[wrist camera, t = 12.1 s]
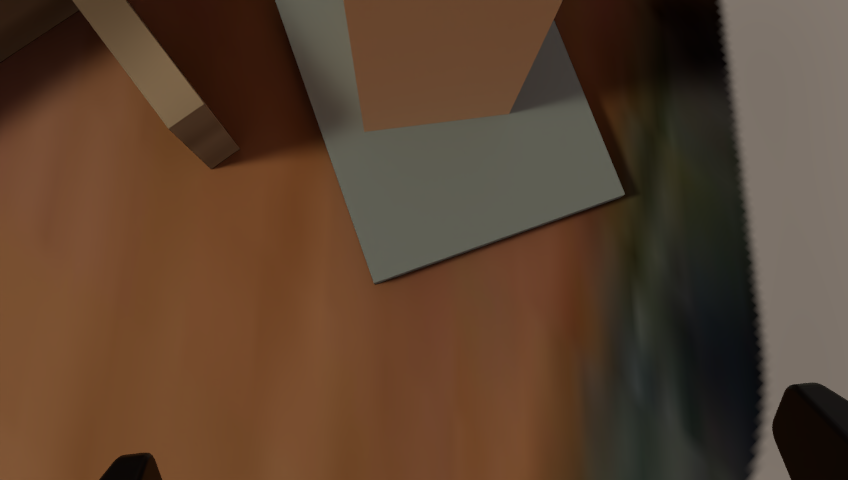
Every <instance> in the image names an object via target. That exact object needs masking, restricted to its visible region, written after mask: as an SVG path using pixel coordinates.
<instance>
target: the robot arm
mask: <svg viewBox="0 0 848 480" xmlns="http://www.w3.org/2000/svg"><path fill="white" fill-rule="evenodd" d="M772 428H773V429H772V430H773V435H774V439H775V442H776V444H777V446H778V449H779V451H780V454H781V456H782V458H783V461H784V463H785V466H786V468H787V471H788V473H789V475H790V478H791V480H848V401H847V400H846V399H844V398H843V397H841V396H839V395H838V394H836V393H835V392H833V391H831V390H830V389H828V388H826V387H825V386H823V385H821V384H818V383H803V384H794V385H791V386H789V387H788V388H787V389H786V390H785V392H784V395H783V397H782V400H781V402H780V405H779V407H778V410H777V412H776V415H775V417H774V420H773V427H772ZM99 480H162V478H161V475H160V472H159V470H158V467H157V464H156V461H155V459H154V457H153V456H152V455H151V454H150V453H137V454H128V455H122V456H120V457H119V458H117V459H116V460H115V461H114V462H113V463H112V465H111V466H110V467H109V468H108V470H107V471H106V472H105V473H104V474H103V476H102V477H101V478H100V479H99Z"/></svg>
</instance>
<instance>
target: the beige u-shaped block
mask: <svg viewBox="0 0 848 480" xmlns="http://www.w3.org/2000/svg"><path fill="white" fill-rule="evenodd" d="M79 10H80V11H81V13H82V14H83V15H84V17H85V18H86V19H87V21H88V22H89V23H90V25H91V26H92V27H93V29H94V30H95V31H96V33H97V34H98V35H99V37H100V38H101V39H102V41H103V42H104V43H105V45H106V46H107V47H108V49H109V50H110V51H111V53H112V54H113V55H114V57H115V58H116V59H117V61H118V62H119V63H120V65H121V66H122V67H123V69H124V70H125V71H126V73H127V74H128V75H129V77H130V78H131V79H132V81H133V82H134V83H135V85H136V86H137V87H138V89H139V90H140V91H141V93H142V94H143V95H144V97H145V98H146V99H147V101H148V102H149V103H150V105H151V106H152V107H153V109H154V110H155V111H156V113H157V114H158V115H159V117H160V118H161V119H162V121H163V122H164V123H165V125H166V126H167V127H168V129H169V130H170V131H171V132H173V133H174V134H175V135H176V136H177V137H178V138H179V139H180V140H181V141H182V142H183V143H184V144H185V145H186V146H187V147H188V148H189V149H190V150H191V151H193V152H194V153H195V154H196V155H197V156H198V157H199V158H200V159H201V160H202V161H203V162H204V163H205V164H206V165H207V166H208V167H209V168H210V169H212V168H214V167H215V166H216V165H218V164H219V163H221V162H222V161H223V160H225V159H226V158H228V157H229V156H230V155H232V154H233V153H235V152H236V151H237V150H239V149H240V148H239V147H238V146H237V144H236V143H235V142H234V140H233V139H232V138H231V136H230V135H229V134H228V132H227V131H226V130H225V128H224V127H223V126H222V124H221V123H220V122H219V121H218V119H217V118H216V117H215V115H214V114H213V113H212V111H211V110H210V109H209V107H208V106H207V105H206V103H205V102H204V101H203V99H202V98H201V97H200V96H199V94H198V93H197V92H196V90H195V89H194V88H193V86H192V85H191V84H190V82H189V81H188V80H187V78H186V77H185V76H184V74H183V73H182V72H181V71H180V69H179V68H178V67H177V65H176V64H175V63H174V61H173V60H172V59H171V57H170V56H169V55H168V53H167V52H166V51H165V49H164V48H163V47H162V46H161V44H160V43H159V42H158V40H157V39H156V38H155V36H154V35H153V34H152V32H151V31H150V30H149V28H148V27H147V26H146V24H145V23H144V22H143V21H142V19H141V18H140V17H139V15H138V14H137V13H136V11H135V10H134V9H133V7H132V6H131V5H130V3H129V2H128V1H127V0H0V62H1V61H3V60H4V59H6V58H7V57H9V56H11V55H12V54H14V53H15V52H17V51H18V50H20V49H21V48H23V47H24V46H26V45H27V44H29V43H30V42H32V41H33V40H35V39H36V38H38V37H39V36H41V35H42V34H44V33H45V32H47V31H48V30H50V29H51V28H53V27H54V26H56V25H57V24H59V23H60V22H62V21H63V20H65V19H66V18H68V17H70V16H71V15H73V14H74V13H76V12H77V11H79Z"/></svg>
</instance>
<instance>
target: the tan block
mask: <svg viewBox="0 0 848 480" xmlns="http://www.w3.org/2000/svg"><path fill="white" fill-rule="evenodd" d="M343 1H344V7H345V14H346V20H347V26H348V32H349V39H350V45H351V51H352V58H353V64H354V70H355V77H356V83H357V89H358V95H359V102H360V108H361V114H362V121H363V127H364V132H368V131H376V130H384V129H392V128H400V127H408V126H416V125H424V124H432V123H440V122H448V121H456V120H464V119H472V118H480V117H488V116H496V115H504V114H509V113H510V111H511V109H512V107H513V105H514V102H515V100H516V98H517V96H518V94H519V92H520V90H521V88H522V86H523V83H524V81H525V79H526V77H527V75H528V73H529V71H530V69H531V67H532V64H533V62H534V60H535V58H536V56H537V54H538V52H539V50H540V47H541V45H542V43H543V41H544V39H545V37H546V35H547V33H548V31H549V28H550V26H551V24H552V22H553V20H554V18H555V16H556V14H557V12H558V9H559V7H560V5H561V3H562V1H563V0H343Z"/></svg>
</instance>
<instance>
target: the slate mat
mask: <svg viewBox="0 0 848 480" xmlns="http://www.w3.org/2000/svg"><path fill="white" fill-rule="evenodd" d="M275 2H276V4H277V7H278V10H279V13H280V16H281V19H282V22H283V24H284V27H285V30H286V33H287V36H288V39H289V42H290V44H291V47H292V50H293V53H294V56H295V59H296V62H297V64H298V67H299V70H300V73H301V76H302V79H303V82H304V84H305V87H306V90H307V93H308V96H309V99H310V102H311V105H312V107H313V110H314V113H315V116H316V119H317V122H318V125H319V127H320V130H321V133H322V136H323V139H324V142H325V145H326V147H327V150H328V153H329V156H330V159H331V162H332V165H333V167H334V170H335V173H336V176H337V179H338V182H339V185H340V187H341V190H342V193H343V196H344V199H345V202H346V205H347V207H348V210H349V213H350V216H351V219H352V222H353V225H354V227H355V230H356V233H357V236H358V239H359V242H360V245H361V247H362V250H363V253H364V256H365V259H366V262H367V265H368V267H369V270H370V273H371V276H372V279H373V282H374V284H378V283H381V282H384V281H386V280H389V279H392V278H395V277H398V276H401V275H403V274H406V273H409V272H412V271H415V270H418V269H420V268H423V267H426V266H429V265H432V264H435V263H437V262H440V261H443V260H446V259H449V258H451V257H454V256H457V255H460V254H463V253H466V252H468V251H471V250H474V249H477V248H480V247H483V246H485V245H488V244H491V243H494V242H497V241H500V240H502V239H505V238H508V237H511V236H514V235H516V234H519V233H522V232H525V231H528V230H531V229H533V228H536V227H539V226H542V225H545V224H548V223H550V222H553V221H556V220H559V219H562V218H565V217H567V216H570V215H573V214H576V213H579V212H582V211H584V210H587V209H590V208H593V207H596V206H598V205H601V204H604V203H607V202H610V201H613V200H615V199H618V198H620V197H622V196H623V195H625V193H624V191H623V188H622V186H621V183H620V181H619V178H618V176H617V173H616V171H615V169H614V166H613V164H612V161H611V159H610V156H609V154H608V151H607V149H606V146H605V144H604V141H603V139H602V137H601V134H600V132H599V129H598V127H597V124H596V122H595V119H594V117H593V114H592V112H591V110H590V107H589V105H588V102H587V100H586V97H585V95H584V92H583V90H582V87H581V85H580V83H579V80H578V78H577V75H576V73H575V70H574V68H573V65H572V63H571V60H570V58H569V55H568V53H567V51H566V48H565V46H564V43H563V41H562V38H561V36H560V33H559V31H558V28H557V26H556V24H555V21H554V20H553V22H552V24H551V26H550V28H549V31H548V33H547V35H546V37H545V39H544V41H543V43H542V45H541V47H540V50H539V52H538V54H537V56H536V58H535V60H534V62H533V64H532V67H531V69H530V71H529V73H528V75H527V77H526V79H525V81H524V83H523V86H522V88H521V90H520V92H519V94H518V96H517V98H516V100H515V102H514V105H513V107H512V109H511V111H510V113H509V114H504V115H496V116H488V117H480V118H472V119H464V120H456V121H448V122H440V123H432V124H424V125H416V126H408V127H400V128H392V129H384V130H376V131H368V132H364V127H363V121H362V114H361V108H360V102H359V95H358V89H357V83H356V77H355V70H354V64H353V58H352V51H351V45H350V39H349V32H348V26H347V20H346V14H345V7H344V1H343V0H275Z"/></svg>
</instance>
